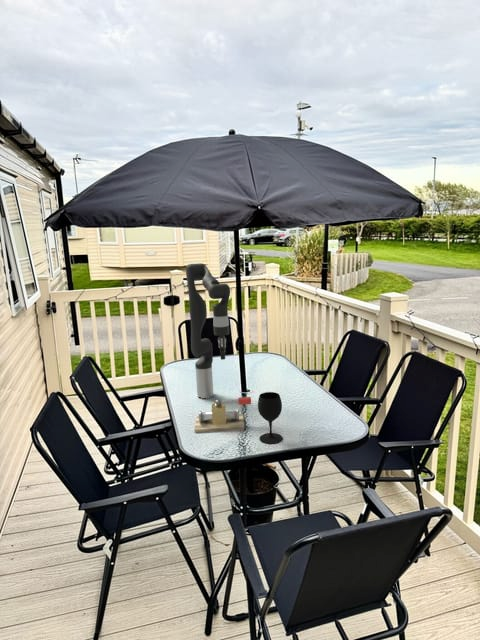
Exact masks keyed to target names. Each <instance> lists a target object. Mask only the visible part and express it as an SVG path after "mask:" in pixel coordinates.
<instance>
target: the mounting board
mask: <svg viewBox="0 0 480 640" xmlns="http://www.w3.org/2000/svg"><path fill="white" fill-rule="evenodd" d="M244 423H245V422H244V414H243V413H239V421H237V420H235V423H231V420H226V424H215V425H213V422H212V421H208V424H204V422H202V423H199V415H198V416H196V419H195V425H194V431H193V433H195V432H196V433H210V431H214V432H228V431H230V432H231V431H244V430H245V424H244ZM207 431H208V432H207Z"/></svg>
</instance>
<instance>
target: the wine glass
mask: <svg viewBox="0 0 480 640" xmlns="http://www.w3.org/2000/svg"><path fill="white" fill-rule="evenodd" d="M258 396H259V397H258V401H257V410H258V413H259V415H260V416H261V417H262V418H263V420H265V421H267V422H268V424H269V432H267V433H263V434H260V436H259V441H260V442H261V443H263V444H265V445H266V444H267V445H275V444H279V443H280V442H282V441H283V440H284V438H283V436H282V435H281V434H280V433H277V432H273V429H272V428H273V422H274V421H275V420H277V419H278V418H279V416H280V415H281V412H282V409H283V404H282V398H281V396H280V394H279V393H278V392H274V391H267V392H262V393H260V394H259V395H258Z"/></svg>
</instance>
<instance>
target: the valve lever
mask: <svg viewBox="0 0 480 640" xmlns="http://www.w3.org/2000/svg"><path fill="white" fill-rule="evenodd" d="M214 403H215V405H216V406H221V405H223V404H225V405H235V404H236V405H237V404H238V406H243V405H252V397H251V396H243V397H242V396H241V397H240V396H239V397H237V398H235V399H231V398H230V399H221V398H217V399H215V400H214Z"/></svg>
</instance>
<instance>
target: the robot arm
mask: <svg viewBox="0 0 480 640" xmlns="http://www.w3.org/2000/svg"><path fill="white" fill-rule="evenodd" d="M185 275H186V283H187V290H188V291H187V292H188V299H189V301H188V302H189V306H188V307H189V317H190V351H191V353H192V355H193V356H194V357H195V358H198V360H197V361H195V378H196V395H198V396H197V398H198V397H201V398H200V399H202V398H206V399H209V398H208V397H211V398H213V397H214V396H213V395H214V382H213V381H214V380H213V362H214V361H213V360H214V359H213V357H214V353H213V351H214V349H213V343H212V341H211V340H210V339H209V338H208V337H207V338H206V337H205V338H202V331H203V327H204V325H205V323H206V320H207V316H208V313H207V310H208V309H207V304H206V301H205V300H204V299H203V298H204V297H202V296H201V295H200V293H199V291H198V289H197V287H196V283H195V281H196V282H198V281H202V282H201V283H202V286H203V287H204V289H206V291H207V294H208V296H209V298H210V299H212V300H220V301H219V302H217V303H215V304H213V305H212V312H213V313H212V315H213V318H212V319H213V321H212V322H213V324H212V325H213V326H212V327H213V334H214V336H218V337H217V342H218V348H219V352H220V360H221V361H222V360H226V348H227V345H226V344H227V337H225V336H227V335H229V334H230V323H229V312H228V311H229V310H228V304H229V300H230V295H231V288H230V286H229V284H228V283H220V282H219V280H218V279H216V278H215V277H214V275H212V273H211V271H210V269H209V268H208V267H207V265H206V264H205V263H189V264H186V267H185ZM212 396H213V397H212Z"/></svg>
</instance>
